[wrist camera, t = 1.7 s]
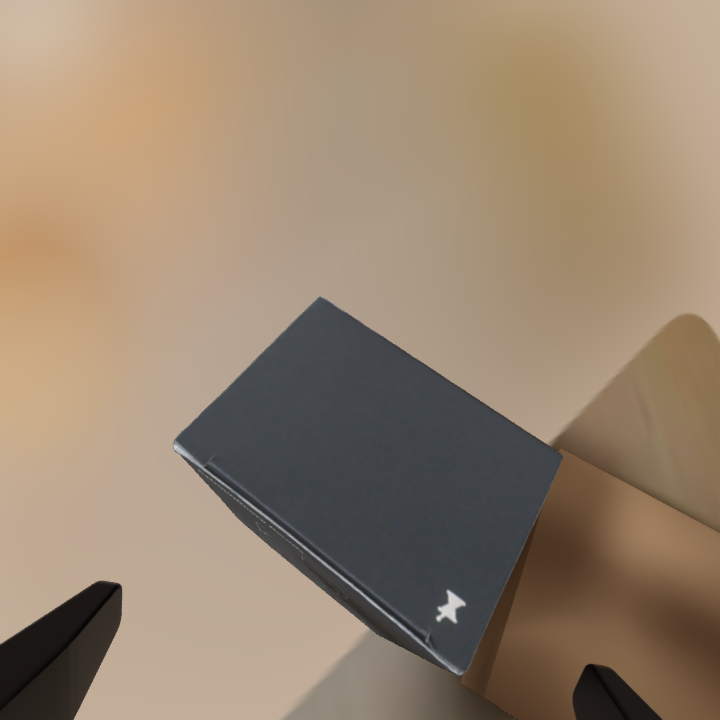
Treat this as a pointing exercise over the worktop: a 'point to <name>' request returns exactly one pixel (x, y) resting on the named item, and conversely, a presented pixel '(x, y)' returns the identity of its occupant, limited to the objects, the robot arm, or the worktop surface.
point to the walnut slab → (605, 604)
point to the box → (376, 480)
